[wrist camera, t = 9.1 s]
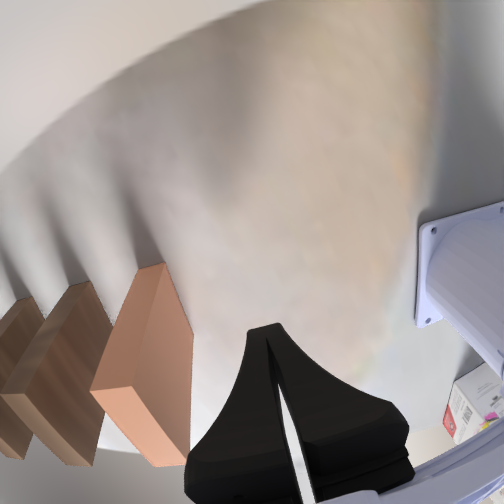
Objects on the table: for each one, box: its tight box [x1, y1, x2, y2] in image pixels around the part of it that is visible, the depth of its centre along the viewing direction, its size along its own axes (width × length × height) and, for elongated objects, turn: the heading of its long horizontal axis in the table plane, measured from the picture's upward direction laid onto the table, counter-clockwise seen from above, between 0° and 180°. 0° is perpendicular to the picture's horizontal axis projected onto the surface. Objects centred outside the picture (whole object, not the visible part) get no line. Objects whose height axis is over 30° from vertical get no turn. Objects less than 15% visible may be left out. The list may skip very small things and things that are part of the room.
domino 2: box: [0, 281, 113, 467], centre depth 13 cm, size 2×5×9 cm, turn 12°
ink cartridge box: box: [443, 362, 504, 504], centre depth 20 cm, size 9×5×15 cm, turn 15°
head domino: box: [90, 262, 194, 467], centre depth 14 cm, size 2×5×9 cm, turn 12°
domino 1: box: [0, 297, 45, 460], centre depth 13 cm, size 2×5×9 cm, turn 12°
